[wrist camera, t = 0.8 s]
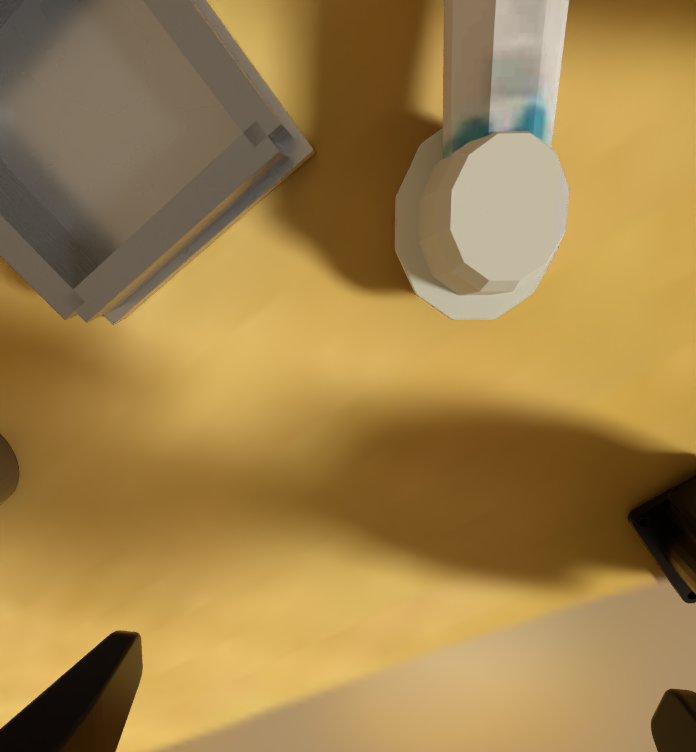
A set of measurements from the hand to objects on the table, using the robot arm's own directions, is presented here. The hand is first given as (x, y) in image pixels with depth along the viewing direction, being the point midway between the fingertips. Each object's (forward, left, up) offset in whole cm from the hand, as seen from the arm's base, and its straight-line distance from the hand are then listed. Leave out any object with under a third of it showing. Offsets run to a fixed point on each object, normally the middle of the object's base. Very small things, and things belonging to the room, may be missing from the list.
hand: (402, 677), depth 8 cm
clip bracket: (+15, +1, -13) cm, 20 cm away
